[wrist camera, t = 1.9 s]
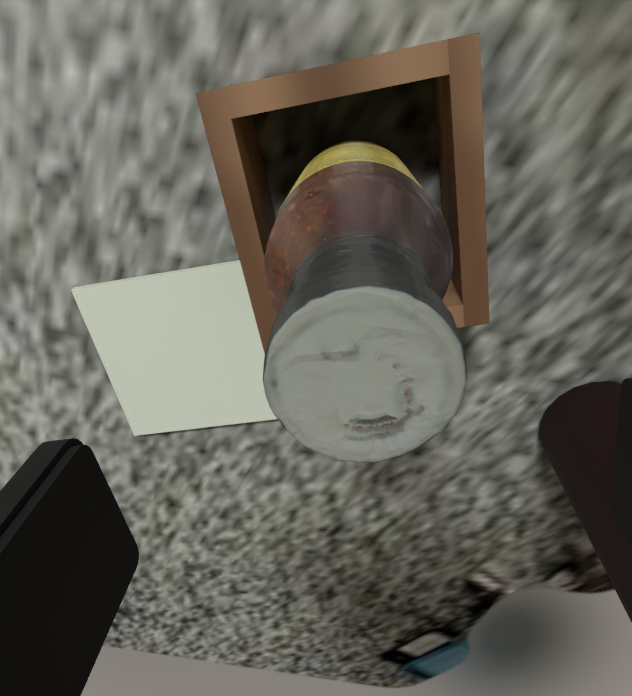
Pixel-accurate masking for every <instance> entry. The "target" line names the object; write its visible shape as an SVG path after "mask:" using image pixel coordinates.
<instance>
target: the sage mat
mask: <svg viewBox="0 0 632 696" xmlns="http://www.w3.org/2000/svg"><path fill="white" fill-rule="evenodd" d="M71 291H72V293H73V296H74V298H75V300H76V303H77V305H78V307H79V309H80V312H81V314H82V316H83V319H84V321H85V323H86V325H87V328H88V330H89V332H90V335H91V337H92V339H93V342H94V344H95V346H96V348H97V351H98V353H99V355H100V358H101V360H102V362H103V365H104V367H105V369H106V371H107V374H108V376H109V378H110V381H111V383H112V385H113V388H114V390H115V392H116V394H117V397H118V399H119V401H120V404H121V406H122V408H123V411H124V413H125V415H126V417H127V420H128V422H129V424H130V427H131V429H132V431H133V434H134V436H137V435H145V434H154V433H162V432H171V431H180V430H188V429H197V428H205V427H214V426H222V425H231V424H240V423H248V422H257V421H265V420H274V419H277V418H276V417H275V416H274V414H273V412H272V410H271V408H270V406H269V404H268V401H267V398H266V395H265V390H264V385H263V367H264V358H265V354H264V350H263V346H262V342H261V339H260V335H259V331H258V327H257V323H256V320H255V316H254V312H253V308H252V305H251V301H250V297H249V293H248V289H247V286H246V282H245V278H244V274H243V271H242V267H241V263H240V260H237V261H231V262H224V263H218V264H212V265H206V266H200V267H194V268H188V269H182V270H176V271H169V272H163V273H157V274H151V275H145V276H139V277H133V278H127V279H121V280H114V281H108V282H102V283H96V284H90V285H84V286H78V287H74V288H73V289H72V290H71Z"/></svg>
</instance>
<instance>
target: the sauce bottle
mask: <svg viewBox="0 0 632 696" xmlns="http://www.w3.org/2000/svg"><path fill="white" fill-rule="evenodd" d="M264 263H265V269H264V272H265V282H266V287H267V293H268V295H269V297H270V301H271V303H272V306H273V308H274V309H275V310H276V312H277V314H278V315H277V317H276V319H275V321H274V323H273V325H272V328H271V334H270V336H269V340H268V344H267V349H266V353H265V358H264V367H263V385H264V390H265V395H266V398H267V401H268V404H269V406H270V408H271V410H272V412H273V414H274V416H275V417H276V418H277V419H278V420H279V421H280V422H281V424H282V425H283V427H284V428H285V429H286V430H287V431H288V432H289V433H290V434H291V435H292V436H293V437H294V438H295V439H296V440H297V441H298V442H299V443H300V444H302V445H304V446H306V447H308V448H309V449H311V450H313V451H315V452H318V453H320V454H323V455H326V456H328V457H331V458H334V459H337V460H340V461H351V462H363V463H364V462H379V461H383V460H387V459H390V458H393V457H397V456H400V455H403V454H405V453H407V452H409V451H411V450H413V449H416V448H418V447H420V446H421V445H423V444H424V443H426V442H427V441H429V440H430V439H432V438H433V437H434V436H436V435H437V434H439V433H440V432H441V431H442V430H443V429H444V427H445V426H446V425H447V423H448V422H449V421H450V420H451V419H452V418H453V417H454V416H455V415H456V413H457V410H458V408H459V406H460V404H461V402H462V400H463V397H464V393H465V385H466V380H467V372H466V357H465V351H464V347H463V344H462V341H461V338H460V335H459V331H458V329H457V327H456V324H455V321H454V318H453V316H452V314H451V312H450V311H449V310H448V309H447V307H446V306H445V304H444V302H443V301H442V299H443V298H444V296H445V294H446V291H447V289H448V286H449V283H450V279H451V276H452V268H453V249H452V242H451V237H450V233H449V230H448V227H447V224H446V222H445V220H444V218H443V215H442V213H441V212H440V210H439V209H438V207H437V205H436V204H435V202H434V201H433V199H432V198H431V197H430V195H429V194H428V193H427V192H426V191H425V190H424V189H423V187H422V186H421V185H420V184H419V183H418V181H417V180H416V179H415V178H414V176H413V175H412V174H411V173H410V171H409V170H408V168H407V167H406V166H405V165H404V163H403V162H402V161H401V160H400V159H399V158H398V157H397V156H396V155H395V154H394V153H392V152H391V151H389V150H388V149H386V148H384V147H382V146H380V145H378V144H375V143H372V142H368V141H361V140H348V141H344V142H340V143H337V144H335V145H332V146H330V147H328V148H326V149H324V150H323V151H321V152H320V153H319V154H317V155H316V156H315V157H314V158H313V159H312V160H311V161H310V162H309V163H308V164H307V166H306V167H305V169H304V170H303V172H302V173H301V175H300V177H299V178H298V180H297V181H296V183H295V185H294V186H293V188H292V189H291V191H290V193H289V194H288V196H287V198H286V199H285V201H284V203H283V204H282V206H281V208H280V210H279V212H278V215H277V217H276V220H275V224H274V226H273V228H272V230H271V233H270V236H269V240H268V242H267V245H266V252H265V256H264Z"/></svg>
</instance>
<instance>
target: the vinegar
mask: <svg viewBox="0 0 632 696" xmlns="http://www.w3.org/2000/svg"><path fill="white" fill-rule="evenodd" d="M621 386H622V384H620V383H615V382H610V381H605V382H591V383H588V384H584V385H581V386H578V387H575V388H573V389H571V390H569V391H568V392H566V393H564V394H563V395H561V396H559V397H558V398H557V399H556V400H555V401H554V402H553V403H552V404H551V405H550V406H549V407H548V408H547V410H546V412H545V414H544V416H543V418H542V420H541V425H540V439H541V442H542V445H543V448H544V450H545V452H546V454H547V456H548V458H549V460H550V462H551V464H552V466H553V468H554V470H555V472H556V474H557V476H558V478H559V480H560V482H561V484H562V486H563V488H564V490H565V492H566V494H567V496H568V498H569V500H570V502H571V504H572V506H573V508H574V510H575V511H576V513H577V515H578V517H579V519H580V521H581V523H582V525H583V527H584V529H585V531H586V533H587V535H588V537H589V539H590V541H591V543H592V545H593V547H594V549H595V551H596V553H597V555H598V557H599V559H600V561H601V563H602V565H603V567H604V569H605V571H606V573H607V575H608V577H609V579H610V581H611V582H612V584H613V586H614V588H615V590H616V592H617V594H618V596H619V598H620V600H621V602H622V604H623V606H624V608H625V610H626V612H627V614H628V616H629V618H630V620H631V622H632V550H631V548H630V547H629V545H628V543H627V542H626V540H625V538H624V537H623V535H622V533H621V532H620V530H619V529H618V527H617V525H616V523H615V521H614V518H613V515H612V512H611V490H612V480H613V469H614V458H615V448H616V437H617V426H618V416H619V405H620V394H621Z"/></svg>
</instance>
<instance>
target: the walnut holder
mask: <svg viewBox="0 0 632 696" xmlns="http://www.w3.org/2000/svg"><path fill="white" fill-rule="evenodd" d="M429 78H433V91H434V104H435V118H436V132H437V146H438V160H439V174H440V188H441V202H442V215H443V218H444V220H445V222H446V224H447V227H448V230H449V233H450V237H451V242H452V249H453V268H452V276H451V279H450V283H449V286H448V289H447V291H446V294H445V296H444V298H443V299H442V301H443V302H444V304H445V306H446V307H447V309H448V310H449V311H450V312H451V314H452V316H453V318H454V321H455V324H456V327H457V328H460V327H467V326H475V325H482V324H489V298H488V268H487V238H486V208H485V178H484V148H483V117H482V87H481V57H480V33H475V34H471V35H466V36H461V37H457V38H452V39H447V40H442V41H438V42H433V43H428V44H424V45H419V46H414V47H410V48H405V49H400V50H396V51H391V52H386V53H382V54H377V55H372V56H368V57H363V58H358V59H354V60H349V61H344V62H340V63H335V64H330V65H326V66H321V67H316V68H312V69H307V70H302V71H298V72H293V73H288V74H284V75H279V76H274V77H270V78H265V79H260V80H256V81H251V82H246V83H242V84H237V85H232V86H228V87H223V88H218V89H214V90H209V91H204V92H200V93H196V97H197V101H198V104H199V108H200V112H201V116H202V120H203V123H204V127H205V131H206V135H207V138H208V142H209V146H210V150H211V154H212V157H213V161H214V165H215V169H216V172H217V176H218V180H219V184H220V188H221V191H222V195H223V199H224V203H225V206H226V210H227V214H228V218H229V221H230V225H231V229H232V233H233V237H234V240H235V244H236V248H237V252H238V255H239V259H240V263H241V267H242V271H243V274H244V278H245V282H246V286H247V289H248V293H249V297H250V301H251V305H252V308H253V312H254V316H255V320H256V323H257V327H258V331H259V335H260V339H261V342H262V346H263V350H264V354H265V353H266V349H267V344H268V340H269V336H270V334H271V328H272V325H273V323H274V321H275V319H276V317H277V315H278V314H277V312H276V310H275V309H274V308H273V306H272V303H271V301H270V297H269V295H268V293H267V287H266V282H265V272H264V269H265V263H264V256H265V252H266V245H267V242H268V240H269V236H270V233H271V230H272V228H273V226H274V224H275V220H276V218H275V214H274V209H273V205H272V200H271V196H270V191H269V187H268V182H267V178H266V173H265V169H264V164H263V160H262V155H261V151H260V146H259V142H258V137H257V133H256V128H255V124H254V119H253V114H258V113H263V112H267V111H272V110H277V109H282V108H287V107H292V106H297V105H302V104H307V103H311V102H316V101H321V100H326V99H331V98H336V97H341V96H346V95H351V94H355V93H360V92H365V91H370V90H375V89H380V88H385V87H390V86H395V85H400V84H404V83H409V82H414V81H419V80H424V79H429Z"/></svg>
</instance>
